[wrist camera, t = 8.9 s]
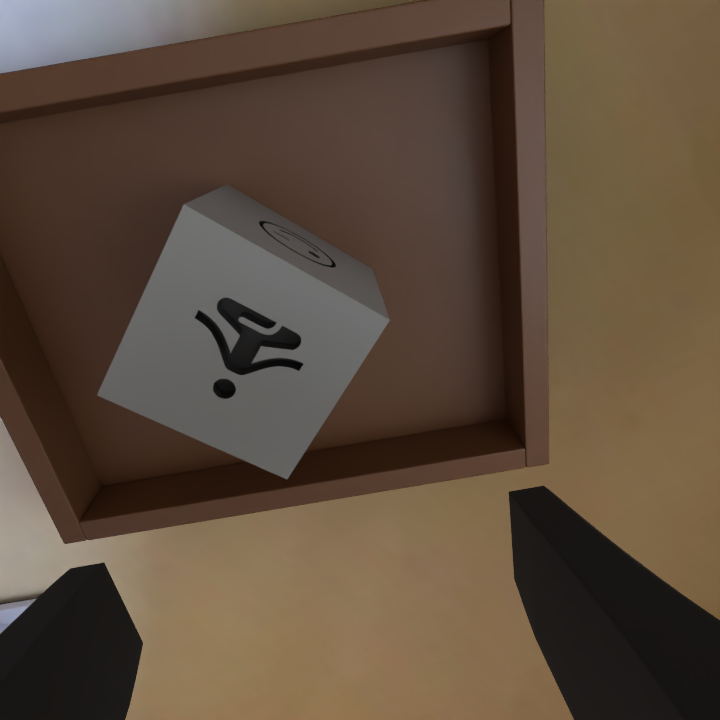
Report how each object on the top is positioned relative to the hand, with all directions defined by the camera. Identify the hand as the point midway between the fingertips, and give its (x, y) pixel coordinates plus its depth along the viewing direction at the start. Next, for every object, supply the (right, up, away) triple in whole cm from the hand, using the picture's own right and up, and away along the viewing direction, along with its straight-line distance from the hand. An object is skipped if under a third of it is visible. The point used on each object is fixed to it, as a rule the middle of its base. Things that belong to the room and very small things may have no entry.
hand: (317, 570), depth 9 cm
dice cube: (-2, +6, +8) cm, 10 cm away
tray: (-2, +6, +8) cm, 10 cm away
